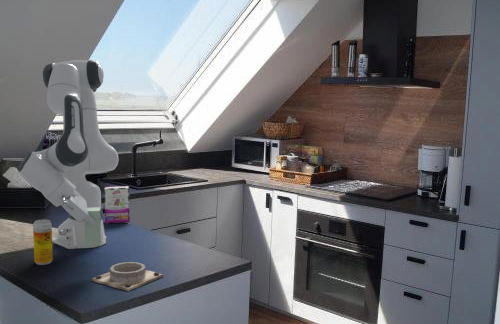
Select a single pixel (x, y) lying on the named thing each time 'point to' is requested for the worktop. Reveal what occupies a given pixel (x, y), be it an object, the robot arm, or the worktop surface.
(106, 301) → the worktop surface
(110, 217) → the candy bar box
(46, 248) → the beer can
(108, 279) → the bolt socket plate
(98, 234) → the green peg
